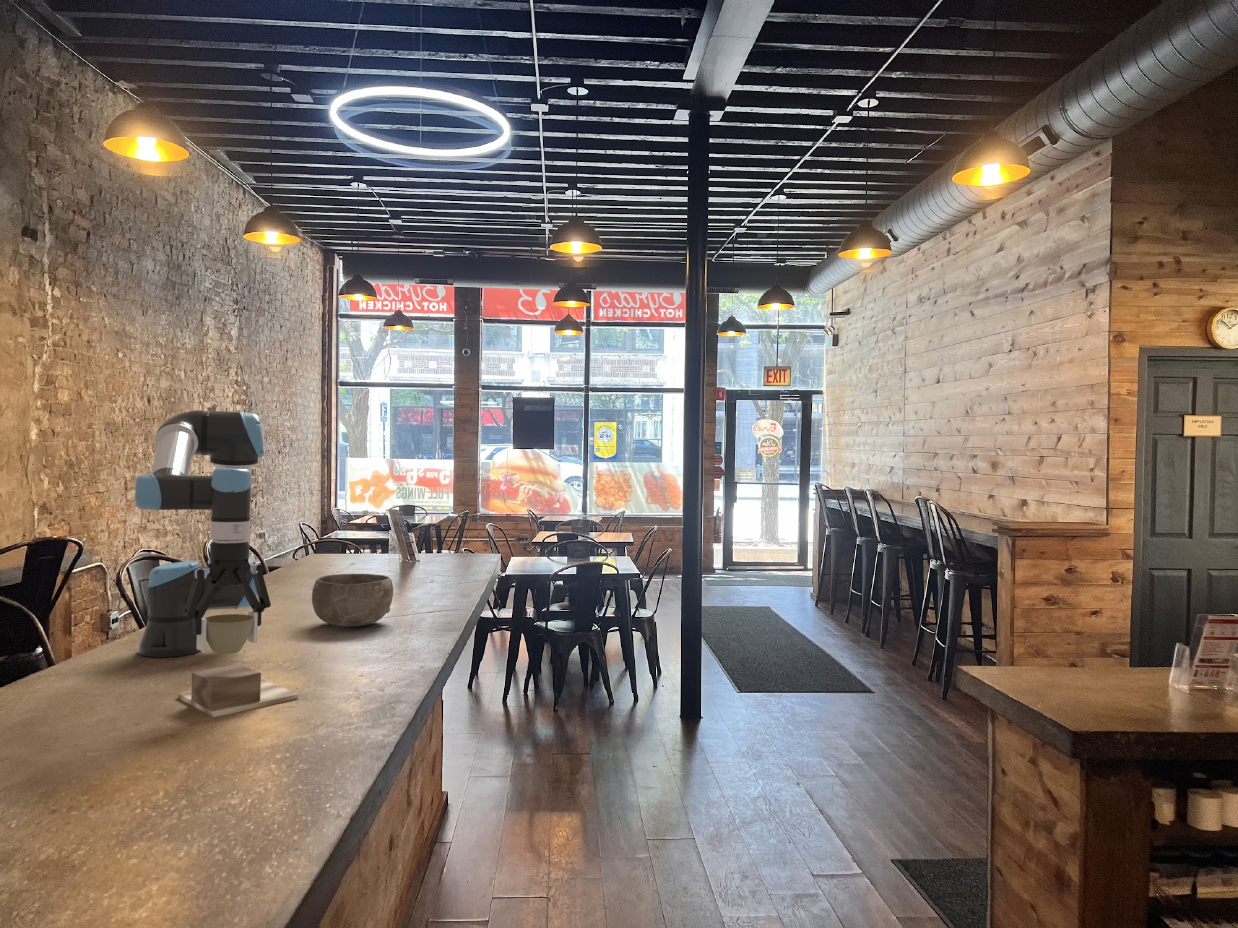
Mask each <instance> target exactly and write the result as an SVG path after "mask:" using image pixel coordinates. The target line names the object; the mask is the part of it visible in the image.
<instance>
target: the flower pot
mask: <svg viewBox="0 0 1238 928" xmlns="http://www.w3.org/2000/svg"><path fill="white" fill-rule="evenodd" d="M204 618H205V619H207V624H206V643H207V644H208V646H209V648H210V649H211V651H212V653H214V654H216V655H232V654H237V653H239V652H240V651H241V650H242V648H244V646H245V644H246V642H247V641H248V637H249V634H250V632H251V629H252V625H253V621H254V617H253V616H251V615H248V614H246V613H245V614H243V613H242V614H241V613H226V614H225V613H224V614H214V615H209V616H205V617H204Z"/></svg>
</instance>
